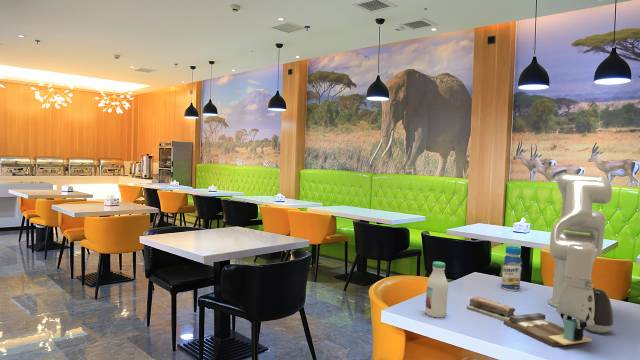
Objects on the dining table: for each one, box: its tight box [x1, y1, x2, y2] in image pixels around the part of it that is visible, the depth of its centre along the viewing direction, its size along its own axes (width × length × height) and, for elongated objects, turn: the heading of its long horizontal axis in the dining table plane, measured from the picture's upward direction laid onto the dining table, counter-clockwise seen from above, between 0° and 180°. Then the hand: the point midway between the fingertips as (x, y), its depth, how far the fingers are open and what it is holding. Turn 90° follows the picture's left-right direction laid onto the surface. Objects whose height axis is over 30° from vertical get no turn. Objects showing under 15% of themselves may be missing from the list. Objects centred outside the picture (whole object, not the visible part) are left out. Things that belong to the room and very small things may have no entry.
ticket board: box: [503, 312, 584, 348], centre depth 161 cm, size 16×21×4 cm
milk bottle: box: [424, 261, 449, 319], centre depth 173 cm, size 8×8×20 cm
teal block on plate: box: [548, 318, 593, 346], centre depth 151 cm, size 13×6×6 cm, turn 113°
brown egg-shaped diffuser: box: [585, 287, 615, 334], centre depth 166 cm, size 10×10×15 cm
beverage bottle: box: [500, 245, 523, 292], centre depth 217 cm, size 8×8×20 cm
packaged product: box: [466, 296, 518, 322], centre depth 179 cm, size 18×5×10 cm
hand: (572, 337), depth 150 cm, fingers closed on teal block on plate, 3 cm apart
